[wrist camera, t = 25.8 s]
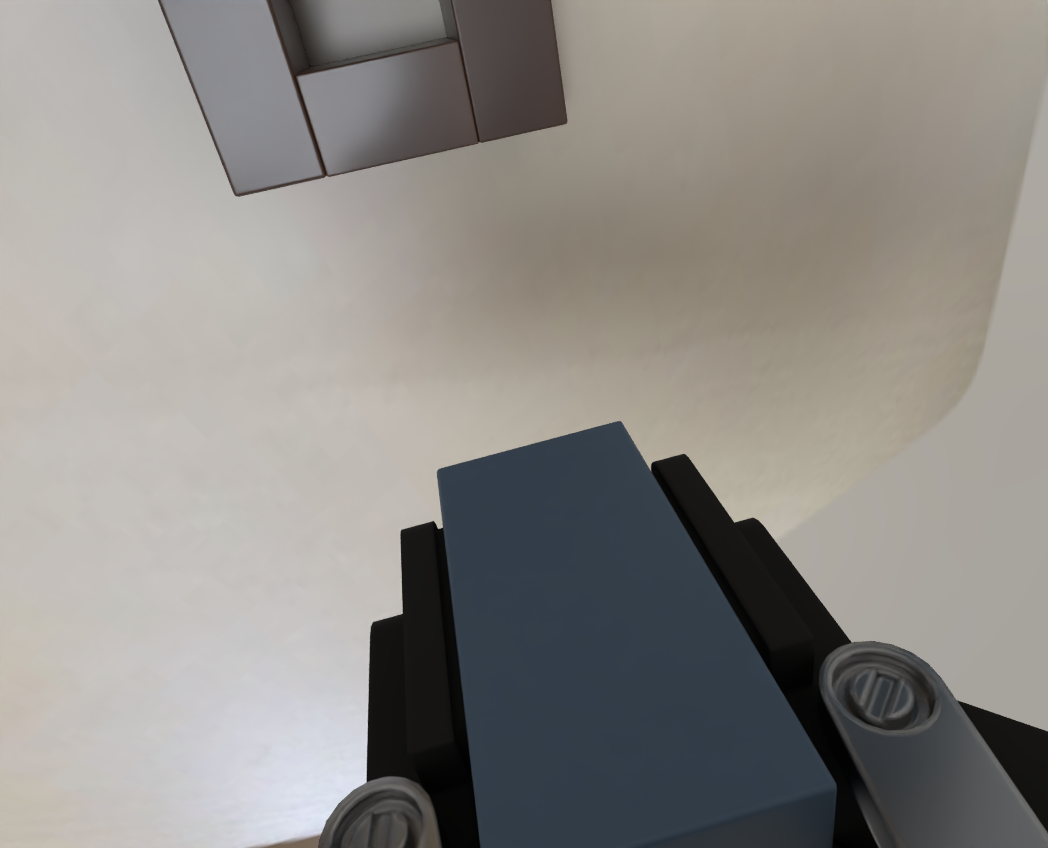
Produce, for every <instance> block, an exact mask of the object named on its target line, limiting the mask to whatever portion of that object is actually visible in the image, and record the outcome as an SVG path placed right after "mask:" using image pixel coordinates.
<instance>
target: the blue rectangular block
mask: <svg viewBox="0 0 1048 848" xmlns="http://www.w3.org/2000/svg"><path fill="white" fill-rule="evenodd" d="M437 479H438V488H439V496H440V505H441V513H442V522H443V531H444V539H445V548H446V556H447V565H448V574H449V582H450V591H451V599H452V608H453V617H454V625H455V634H456V642H457V651H458V659H459V668H460V677H461V685H462V694H463V702H464V711H465V720H466V728H467V737H468V745H469V754H470V763H471V771H472V780H473V788H474V797H475V806H476V814H477V823H478V831H479V840H480V848H832V843H833V831H834V819H835V807H836V795H837V786H836V782H835V781H834V779H833V777H832V776H831V774H830V772H829V771H828V769H827V767H826V766H825V764H824V762H823V761H822V759H821V757H820V755H819V754H818V752H817V750H816V749H815V747H814V745H813V744H812V742H811V740H810V739H809V737H808V735H807V734H806V732H805V730H804V729H803V727H802V725H801V723H800V722H799V720H798V718H797V717H796V715H795V713H794V712H793V710H792V708H791V707H790V705H789V703H788V702H787V700H786V698H785V696H784V695H783V693H782V691H781V690H780V688H779V686H778V685H777V683H776V681H775V680H774V678H773V676H772V675H771V673H770V671H769V670H768V668H767V666H766V664H765V663H764V661H763V659H762V658H761V656H760V654H759V653H758V651H757V649H756V648H755V646H754V644H753V643H752V641H751V639H750V637H749V636H748V634H747V632H746V631H745V629H744V627H743V626H742V624H741V622H740V621H739V619H738V617H737V616H736V614H735V612H734V611H733V609H732V607H731V605H730V604H729V602H728V600H727V599H726V597H725V595H724V594H723V592H722V590H721V589H720V587H719V585H718V584H717V582H716V580H715V578H714V577H713V575H712V573H711V572H710V570H709V568H708V567H707V565H706V563H705V562H704V560H703V558H702V557H701V555H700V553H699V552H698V550H697V548H696V546H695V545H694V543H693V541H692V540H691V538H690V536H689V535H688V533H687V531H686V530H685V528H684V526H683V525H682V523H681V521H680V519H679V518H678V516H677V514H676V513H675V511H674V509H673V508H672V506H671V504H670V503H669V501H668V499H667V498H666V496H665V494H664V493H663V491H662V489H661V487H660V486H659V484H658V482H657V481H656V479H655V477H654V476H653V474H652V472H651V471H650V469H649V467H648V466H647V464H646V462H645V460H644V459H643V457H642V455H641V454H640V452H639V450H638V449H637V447H636V445H635V444H634V442H633V440H632V439H631V437H630V435H629V434H628V432H627V430H626V428H625V427H624V425H623V423H622V422H621V421H617V422H613V423H609V424H606V425H602V426H598V427H594V428H591V429H587V430H583V431H579V432H576V433H572V434H568V435H564V436H561V437H557V438H553V439H549V440H546V441H542V442H538V443H534V444H531V445H527V446H523V447H519V448H516V449H512V450H508V451H504V452H501V453H497V454H493V455H489V456H486V457H482V458H478V459H474V460H471V461H467V462H463V463H459V464H456V465H452V466H448V467H444V468H441V469H439V470H438V471H437Z"/></svg>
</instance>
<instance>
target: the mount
mask: <svg viewBox="0 0 1048 848" xmlns="http://www.w3.org/2000/svg"><path fill="white" fill-rule="evenodd" d="M158 2H159V4H160V7H161V10H162V12H163V15H164V17H165V20H166V22H167V25H168V27H169V30H170V32H171V35H172V38H173V40H174V43H175V45H176V48H177V50H178V53H179V55H180V58H181V60H182V63H183V65H184V68H185V71H186V73H187V76H188V78H189V81H190V83H191V86H192V88H193V91H194V93H195V96H196V99H197V101H198V104H199V106H200V109H201V111H202V114H203V116H204V119H205V121H206V124H207V127H208V129H209V132H210V134H211V137H212V139H213V142H214V144H215V147H216V149H217V152H218V155H219V157H220V160H221V162H222V165H223V167H224V170H225V172H226V175H227V177H228V180H229V182H230V185H231V188H232V190H233V193H234V194H235V196H238V197H240V196H244V195H249V194H253V193H258V192H262V191H267V190H271V189H276V188H280V187H285V186H289V185H293V184H298V183H302V182H307V181H311V180H316V179H320V178H324V177H325V176H326V175H327V176H328V177H331V176H335V175H340V174H344V173H349V172H353V171H357V170H362V169H366V168H371V167H375V166H380V165H384V164H389V163H393V162H398V161H402V160H407V159H411V158H416V157H420V156H425V155H429V154H434V153H438V152H443V151H447V150H452V149H456V148H461V147H465V146H470V145H474V144H478V143H479V142H480V143H483V142H487V141H492V140H496V139H501V138H505V137H510V136H514V135H519V134H523V133H528V132H532V131H537V130H541V129H546V128H550V127H555V126H559V125H564V124H566V123H567V115H566V107H565V100H564V92H563V85H562V78H561V70H560V63H559V55H558V48H557V41H556V33H555V26H554V18H553V11H552V4H551V0H439V2H440V6H441V11H442V16H443V21H444V25H445V30H446V35H447V38H443V39H439V40H434V41H429V42H425V43H420V44H415V45H411V46H406V47H401V48H397V49H392V50H387V51H383V52H378V53H373V54H369V55H364V56H359V57H355V58H350V59H345V60H341V61H336V62H331V63H327V64H322V65H317V66H312V67H309V64H308V60H307V57H306V54H305V50H304V47H303V44H302V41H301V37H300V34H299V31H298V28H297V24H296V21H295V18H294V15H293V11H292V8H291V5H290V2H289V0H158Z"/></svg>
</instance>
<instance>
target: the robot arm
mask: <svg viewBox="0 0 1048 848" xmlns="http://www.w3.org/2000/svg"><path fill="white" fill-rule="evenodd" d="M651 472H652V474H653V476H654V477H655V479H656V481H657V482H658V484H659V486H660V487H661V489H662V491H663V493H664V494H665V496H666V498H667V499H668V501H669V503H670V504H671V506H672V508H673V509H674V511H675V513H676V514H677V516H678V518H679V519H680V521H681V523H682V525H683V526H684V528H685V530H686V531H687V533H688V535H689V536H690V538H691V540H692V541H693V543H694V545H695V546H696V548H697V550H698V552H699V553H700V555H701V557H702V558H703V560H704V562H705V563H706V565H707V567H708V568H709V570H710V572H711V573H712V575H713V577H714V578H715V580H716V582H717V584H718V585H719V587H720V589H721V590H722V592H723V594H724V595H725V597H726V599H727V600H728V602H729V604H730V605H731V607H732V609H733V611H734V612H735V614H736V616H737V617H738V619H739V621H740V622H741V624H742V626H743V627H744V629H745V631H746V632H747V634H748V636H749V637H750V639H751V641H752V643H753V644H754V646H755V648H756V649H757V651H758V653H759V654H760V656H761V658H762V659H763V661H764V663H765V664H766V666H767V668H768V670H769V671H770V673H771V675H772V676H773V678H774V680H775V681H776V683H777V685H778V686H779V688H780V690H781V691H782V693H783V695H784V696H785V698H786V700H787V702H788V703H789V705H790V707H791V708H792V710H793V712H794V713H795V715H796V717H797V718H798V720H799V722H800V723H801V725H802V727H803V729H804V730H805V732H806V734H807V735H808V737H809V739H810V740H811V742H812V744H813V745H814V747H815V749H816V750H817V752H818V754H819V755H820V757H821V759H822V761H823V762H824V764H825V766H826V767H827V769H828V771H829V772H830V774H831V776H832V777H833V779H834V781H835V782H836V786H837V795H836V807H835V819H834V831H833V843H832V848H1048V731H1045V730H1042V729H1039V728H1036V727H1033V726H1030V725H1027V724H1024V723H1021V722H1018V721H1015V720H1012V719H1010V718H1007V717H1004V716H1001V715H998V714H995V713H992V712H989V711H987V710H984V709H981V708H978V707H975V706H972V705H969V704H966V703H963V702H960V701H957V700H956V699H955V698H954V696H953V694H952V693H951V691H950V690H949V689H948V687H947V686H946V684H945V683H944V681H943V680H942V678H941V677H940V676H939V675H938V674H937V673H936V672H935V671H934V669H933V668H932V667H930V665H929V664H928V663H926V662H925V661H924V660H922V659H920V658H919V657H917V656H916V655H915V654H913V653H912V652H909V651H907V650H905V649H902V648H900V647H897V646H894V645H892V644H886V643H881V642H875V641H865V642H853V643H852V642H851V641H850V640H849V639H848V637H847V636H846V634H845V633H844V632H843V630H842V629H841V628H840V626H839V625H838V624H837V623H836V621H835V620H834V618H833V617H832V616H831V615H830V613H829V612H828V611H827V609H826V608H825V607H824V605H823V604H822V603H821V601H820V600H819V599H818V597H817V596H816V595H815V593H814V592H813V591H812V589H811V588H810V587H809V585H808V584H807V583H806V581H805V580H804V579H803V577H802V576H801V575H800V573H799V572H798V571H797V569H796V568H795V567H794V565H793V564H792V563H791V561H790V560H789V559H788V558H787V556H786V555H785V554H784V552H783V551H782V550H781V548H780V547H779V546H778V544H777V543H776V542H775V540H774V539H773V538H772V536H771V535H770V534H769V532H768V531H767V530H766V528H765V527H764V526H763V525H762V524H761V523H760V522H759V520H757V519H755V518H750V519H746V520H743V521H739V522H735V523H734V522H733V520H732V519H731V517H730V516H729V514H728V513H727V512H726V510H725V509H724V507H723V506H722V504H721V503H720V502H719V500H718V499H717V497H716V496H715V494H714V493H713V492H712V490H711V489H710V487H709V486H708V484H707V483H706V482H705V480H704V479H703V477H702V476H701V474H700V473H699V472H698V470H697V469H696V467H695V466H694V464H693V463H692V462H691V460H690V459H689V457H688V456H687V455H685V454H681V455H678V456H674V457H670V458H666V459H663V460H659V461H655V462H653V463H652V465H651ZM401 567H402V600H403V614H401V615H397V616H394V617H390V618H387V619H383V620H379V621H376V622H373V623H372V626H371V632H370V663H369V704H368V745H367V783H365V784H364V785H362V786H360V787H358V788H356V789H355V790H353V791H352V792H351V793H350V794H349V795H348V796H347V797H345V798H344V799H343V800H342V801H341V802H340V803H339V804H338V805H337V807H336V808H335V810H334V811H333V813H332V814H331V815H330V817H329V818H328V820H327V821H326V824H325V826H324V829H323V832H322V834H321V837H320V839H319V845H318V848H480V840H479V831H478V823H477V814H476V806H475V797H474V788H473V780H472V771H471V763H470V754H469V745H468V737H467V728H466V720H465V711H464V702H463V694H462V685H461V677H460V668H459V659H458V651H457V642H456V634H455V625H454V617H453V608H452V599H451V591H450V582H449V574H448V565H447V556H446V548H445V539H444V531H443V528H441V529H438V528H437V526H436V524H435V522H434V521H432V522H429V523H425V524H421V525H418V526H414V527H410V528H406V529H403V530H401Z"/></svg>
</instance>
